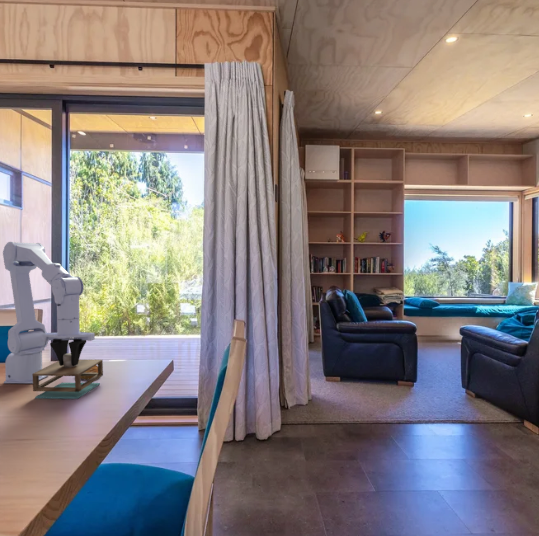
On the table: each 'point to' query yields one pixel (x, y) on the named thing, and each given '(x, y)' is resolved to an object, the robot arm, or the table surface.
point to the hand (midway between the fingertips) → (68, 364)
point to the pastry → (92, 370)
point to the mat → (67, 394)
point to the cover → (67, 374)
